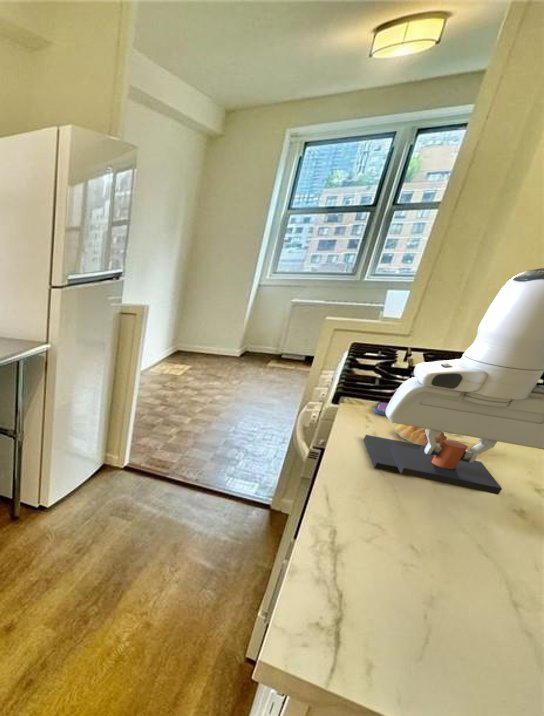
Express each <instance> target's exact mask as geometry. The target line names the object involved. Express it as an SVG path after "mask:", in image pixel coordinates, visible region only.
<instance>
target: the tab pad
mask: <svg viewBox="0 0 544 716" xmlns="http://www.w3.org/2000/svg"><path fill="white" fill-rule="evenodd" d="M441 446H442V447H443V448H442V450H441V451H440V452H439V455H438V456H435V455H429V454H426V453H425V452H424V450H425V448H426V446H423V445H421V447H420V448H419V450H418V449H413V448H408V447H403V446H397V445H392V447H391V448H390V452H391V454H392V456H393V458H394V460H395V463H396V465H397V467H398V469H399V471H400V473H401V474H400V473H399V474H400V475H404V476H409V477H413V478H414V477H415V478H418V479H422V480H428V481H432V482H437V483H441V484H446V485H451V486H456V487H459V488H464V489H470V490H474V491H479V492H484V493H488V494H493V495H499V494H500V493H501V491H502V489H503V488H502V486H501V485H500V484H499V482H498V481H497V480H496V478H495V477H494V476H493V475H492V474H491V473H490V471H489V469H488V468H487V467H486V466H485V465H484V463H483V462H482V461H480V460H475V461H474V462H473V463H470V462H465V461H460V459H461V457H462V456H463V454H464V452H465V451H466V449H468V445H466V444H465V443H463V442H459V441H457V440H452V439H447V440H444V441H443V442H442V444H441Z"/></svg>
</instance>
